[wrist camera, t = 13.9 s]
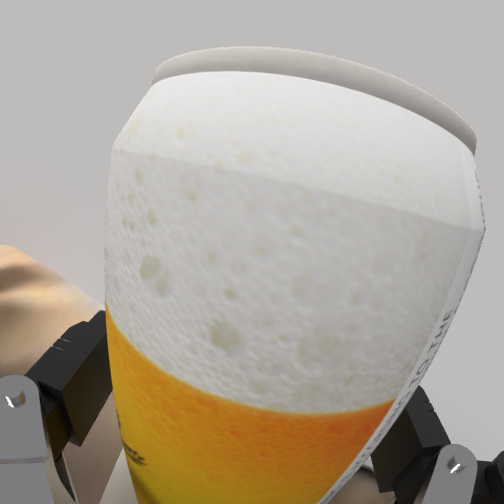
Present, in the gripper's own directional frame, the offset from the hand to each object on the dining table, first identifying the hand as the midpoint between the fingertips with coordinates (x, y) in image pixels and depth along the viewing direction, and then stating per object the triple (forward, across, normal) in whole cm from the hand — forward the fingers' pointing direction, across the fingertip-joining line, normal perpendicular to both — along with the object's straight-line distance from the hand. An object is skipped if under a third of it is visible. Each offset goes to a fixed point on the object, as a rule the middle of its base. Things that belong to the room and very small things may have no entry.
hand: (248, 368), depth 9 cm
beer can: (-2, 0, +8) cm, 8 cm away
